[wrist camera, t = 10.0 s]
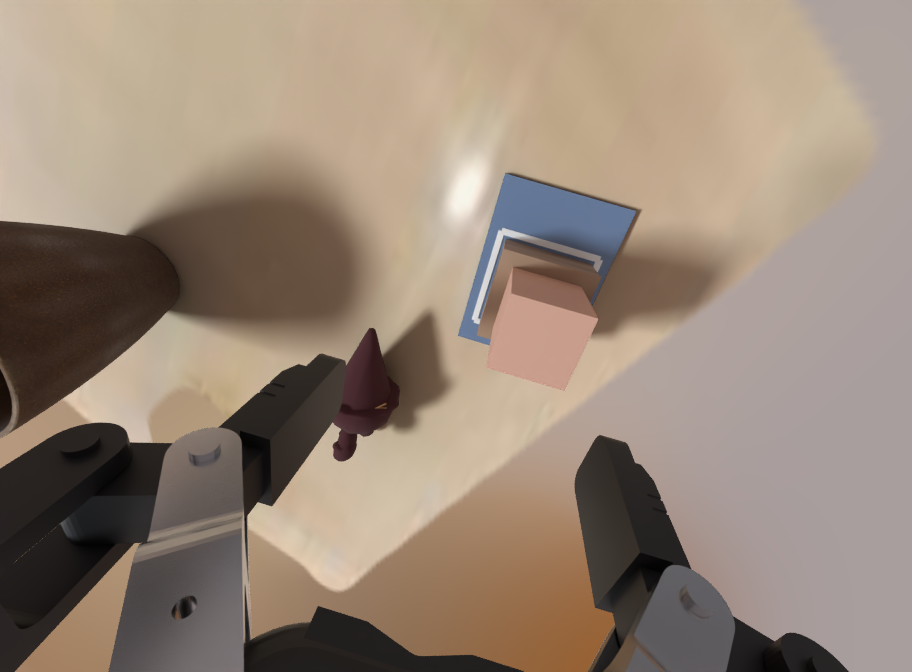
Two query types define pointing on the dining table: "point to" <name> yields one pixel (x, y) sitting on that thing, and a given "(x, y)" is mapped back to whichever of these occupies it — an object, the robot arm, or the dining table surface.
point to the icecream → (364, 396)
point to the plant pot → (71, 309)
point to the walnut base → (537, 264)
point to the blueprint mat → (545, 235)
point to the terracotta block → (540, 329)
